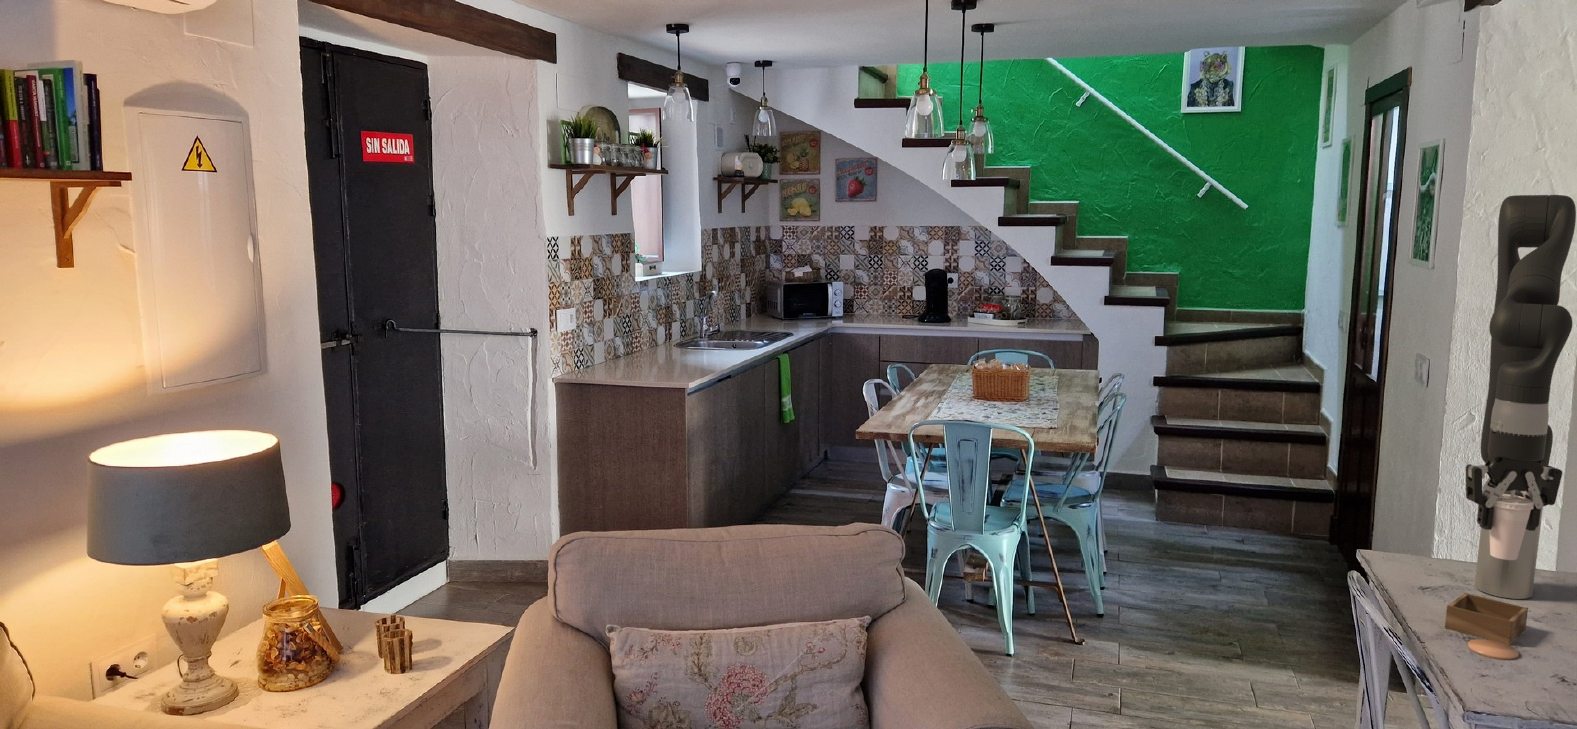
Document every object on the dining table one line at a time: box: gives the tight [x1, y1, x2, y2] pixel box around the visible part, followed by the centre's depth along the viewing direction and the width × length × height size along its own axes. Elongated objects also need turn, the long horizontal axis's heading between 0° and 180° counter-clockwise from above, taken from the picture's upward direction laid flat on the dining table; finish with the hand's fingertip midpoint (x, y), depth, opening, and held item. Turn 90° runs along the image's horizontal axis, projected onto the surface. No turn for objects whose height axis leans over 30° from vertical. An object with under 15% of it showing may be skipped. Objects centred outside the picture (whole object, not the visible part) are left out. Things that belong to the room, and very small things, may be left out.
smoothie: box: [1489, 490, 1534, 560], centre depth 172 cm, size 6×6×14 cm
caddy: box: [1444, 592, 1529, 646], centre depth 184 cm, size 10×10×4 cm
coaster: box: [1467, 638, 1520, 661], centre depth 175 cm, size 7×7×1 cm
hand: (1506, 528), depth 172 cm, fingers closed on smoothie, 6 cm apart
